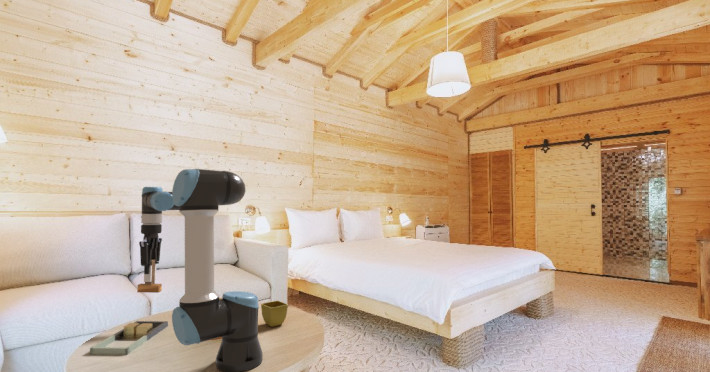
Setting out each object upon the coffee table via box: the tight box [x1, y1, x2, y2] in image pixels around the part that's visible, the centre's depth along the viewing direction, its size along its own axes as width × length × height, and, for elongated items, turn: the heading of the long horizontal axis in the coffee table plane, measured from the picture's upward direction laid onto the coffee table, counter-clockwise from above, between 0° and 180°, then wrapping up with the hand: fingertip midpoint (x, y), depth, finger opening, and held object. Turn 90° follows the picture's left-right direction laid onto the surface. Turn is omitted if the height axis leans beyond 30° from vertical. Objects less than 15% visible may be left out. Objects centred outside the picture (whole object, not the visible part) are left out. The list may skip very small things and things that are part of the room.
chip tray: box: [89, 334, 148, 355], centre depth 134 cm, size 12×13×3 cm
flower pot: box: [260, 300, 289, 328], centre depth 163 cm, size 9×9×9 cm
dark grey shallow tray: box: [113, 320, 169, 342], centre depth 148 cm, size 16×13×3 cm
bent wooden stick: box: [136, 260, 163, 294], centre depth 154 cm, size 3×9×13 cm, turn 90°
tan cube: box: [123, 322, 140, 337], centre depth 146 cm, size 4×4×4 cm
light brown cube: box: [136, 323, 152, 337], centre depth 146 cm, size 4×4×4 cm
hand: (149, 280), depth 154 cm, fingers closed on bent wooden stick, 3 cm apart
